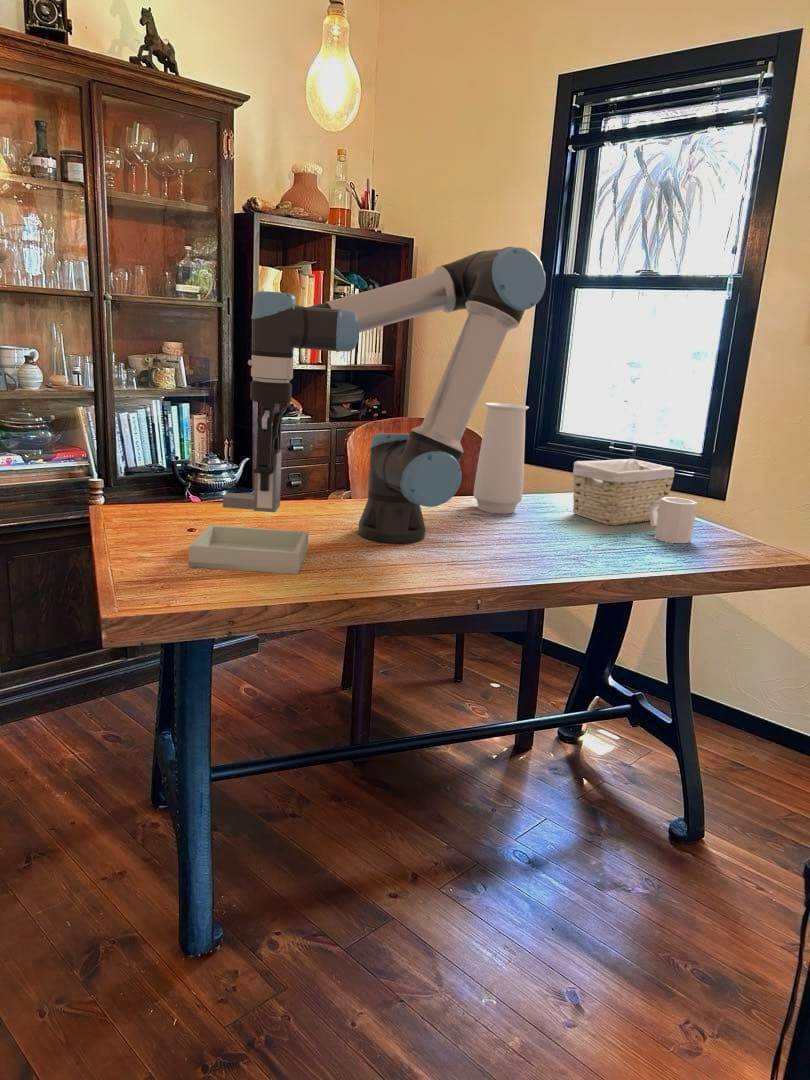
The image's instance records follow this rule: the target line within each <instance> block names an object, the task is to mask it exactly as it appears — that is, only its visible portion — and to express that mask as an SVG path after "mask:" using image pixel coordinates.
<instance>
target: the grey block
mask: <svg viewBox="0 0 810 1080" xmlns="http://www.w3.org/2000/svg"><path fill="white" fill-rule="evenodd" d="M282 453H283V449H282V448H281V449H274V453H273V466H272V470H273V472H272V473H273V501H272V509H271V508H258V507H257V493H258V473H254V481H253V482H254V485H253V487H254V488H253V489H254V490H253V492H254V493H252V494H251V493H250V494H248V493H237V492H236V493H234V492H227V493H225V494H224V495H223V497H222V508H228V509H238V510H239V509H240V510H253V512H265V513H277V511H278V510H279V508H280V506H281V490H282V489H281V486H282V485H281V483H282V467H281V462H283V460H282V457H283V456H282V455H283V454H282ZM256 463H257V450H256V451H255V453H254V469H256Z"/></svg>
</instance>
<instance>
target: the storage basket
mask: <svg viewBox="0 0 810 1080" xmlns="http://www.w3.org/2000/svg"><path fill="white" fill-rule="evenodd" d="M572 475H573V495H572V497H573V499H572V500H573V508H572V511H573V512H572V513H573V514H574V515H575V514H577V515H580V516H579V517H581V516H583V517H582V518H584V517H586V518H585V519H588V518H589V519H588V520H590V519H592V520H591V521H593V520H595V521H594V522H596V521H598V522H597V523H600V522H601V523H600V524H602V523H604V524H603V525H608V526H620V525H627V523H630V524H633V523H635V522H636V523H645V522H648V521H649V522H650V510H649V508H650V507H651V506H652V505H653V504H654V503H655V502H657V501H658V500H660V499H661V498H664V497H670V491H671V488H672V485H673V482H674V478H675V468H674V467H673V466H667V465H662V464H657V463H653V462H650V461H644V460H639V459H635V458H628V459H627V458H624V459H623V458H621V459H620V458H619V459H606V460H605V459H604V460H602V459H601V460H576V461H574V462H573V470H572ZM658 511H659V508H658V509H657V512H658ZM577 515H576V516H577ZM642 521H643V522H642ZM644 521H645V522H644Z"/></svg>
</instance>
